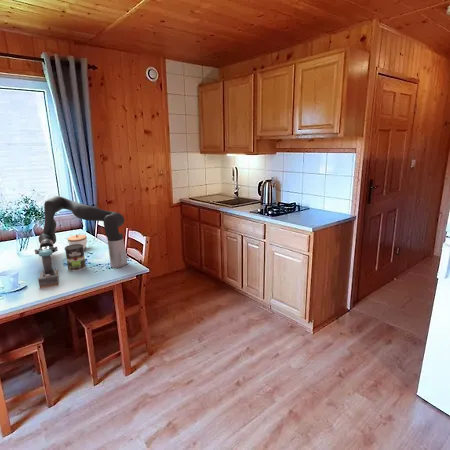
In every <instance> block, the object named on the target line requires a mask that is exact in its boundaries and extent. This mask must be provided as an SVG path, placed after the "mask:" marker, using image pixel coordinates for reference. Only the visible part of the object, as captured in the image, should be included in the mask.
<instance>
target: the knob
mask: <svg viewBox="0 0 450 450" xmlns="http://www.w3.org/2000/svg"><path fill="white" fill-rule="evenodd" d="M51 255H53V253H52V250H50V249H46V250H42V251H39V255H38V256H39V257H41V260H42V266H43V270H44V276H45V275H47V274H50V275H54V270H55V269H53V263H52V256H51Z"/></svg>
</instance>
